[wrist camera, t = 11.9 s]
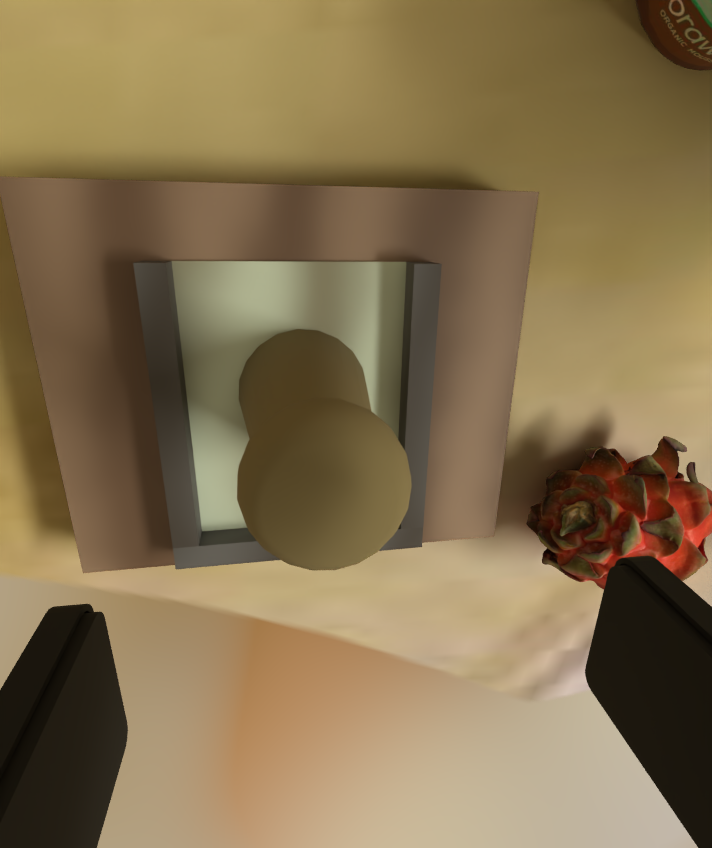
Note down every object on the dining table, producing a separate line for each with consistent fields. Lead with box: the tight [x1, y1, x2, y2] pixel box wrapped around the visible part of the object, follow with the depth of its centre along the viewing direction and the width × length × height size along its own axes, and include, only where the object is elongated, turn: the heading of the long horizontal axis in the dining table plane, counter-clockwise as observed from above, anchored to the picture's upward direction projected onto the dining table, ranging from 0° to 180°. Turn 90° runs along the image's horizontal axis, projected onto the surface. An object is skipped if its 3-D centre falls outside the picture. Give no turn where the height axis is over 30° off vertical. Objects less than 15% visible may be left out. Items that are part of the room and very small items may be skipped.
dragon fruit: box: [527, 436, 712, 589], centre depth 30 cm, size 8×8×12 cm
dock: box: [0, 177, 539, 573], centre depth 25 cm, size 22×18×4 cm
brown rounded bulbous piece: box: [237, 329, 412, 570], centre depth 19 cm, size 6×6×11 cm
